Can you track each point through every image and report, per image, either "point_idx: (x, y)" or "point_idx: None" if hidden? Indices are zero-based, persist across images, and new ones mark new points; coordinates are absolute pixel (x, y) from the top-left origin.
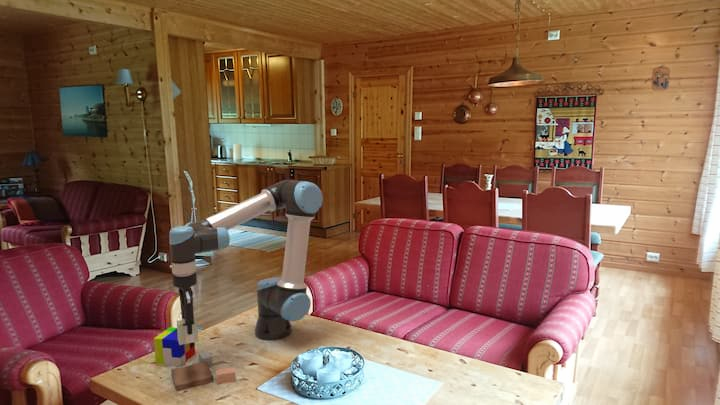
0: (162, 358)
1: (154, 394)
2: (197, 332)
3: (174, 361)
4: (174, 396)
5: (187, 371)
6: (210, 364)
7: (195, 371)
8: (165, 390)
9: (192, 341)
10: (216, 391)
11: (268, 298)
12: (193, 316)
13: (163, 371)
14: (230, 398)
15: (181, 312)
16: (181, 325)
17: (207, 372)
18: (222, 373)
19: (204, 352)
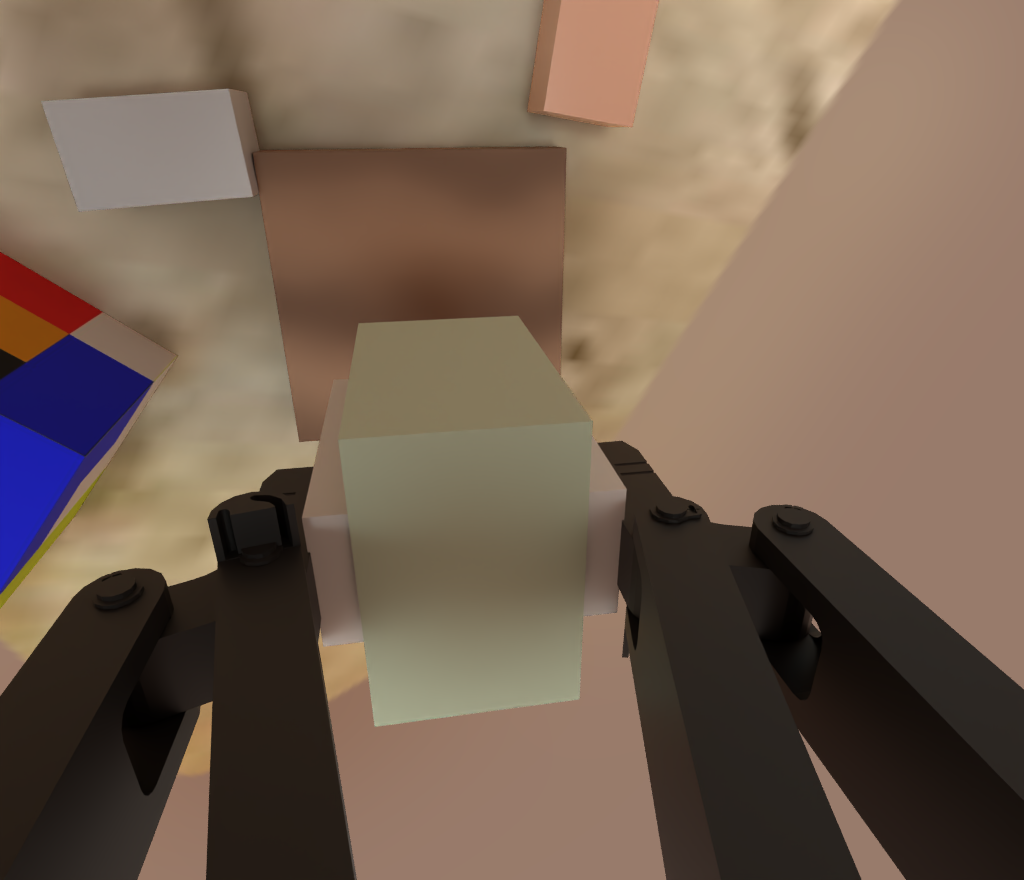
0: (80, 499)
1: None
2: (545, 356)
3: (138, 410)
4: (604, 418)
5: None
6: (250, 114)
7: (411, 275)
8: None
9: None
10: (700, 155)
11: None
12: (930, 616)
13: (223, 471)
14: (847, 76)
15: (165, 741)
16: (578, 650)
17: (478, 184)
18: (630, 69)
19: (99, 149)
